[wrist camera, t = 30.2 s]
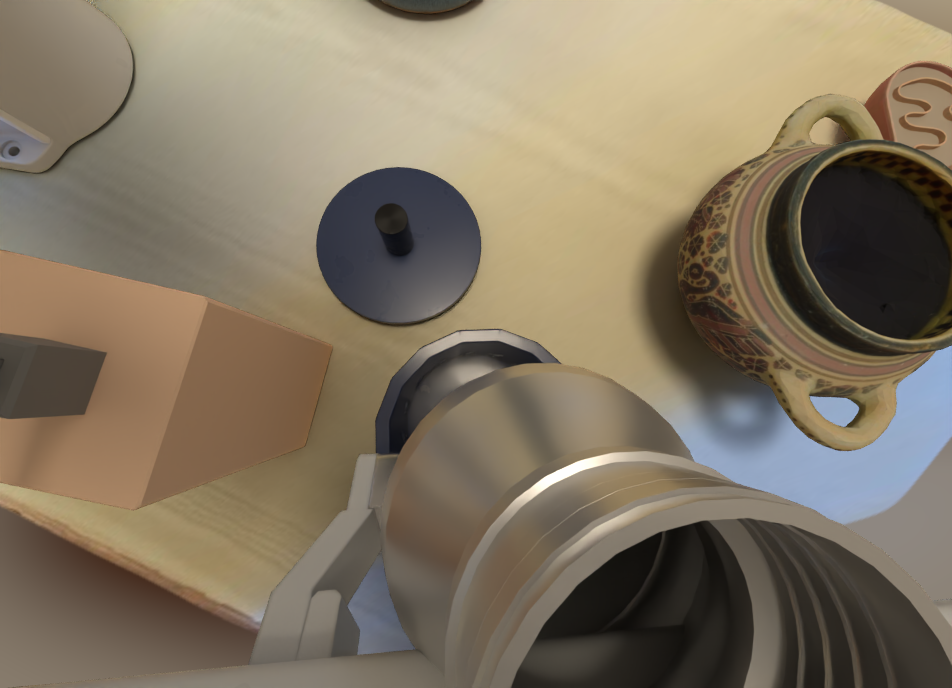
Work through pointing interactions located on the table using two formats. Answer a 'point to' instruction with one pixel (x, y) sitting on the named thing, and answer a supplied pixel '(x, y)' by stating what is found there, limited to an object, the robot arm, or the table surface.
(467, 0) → the vase
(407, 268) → the lid
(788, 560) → the metal water bottle
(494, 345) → the pot
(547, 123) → the table surface
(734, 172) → the patterned ceramic jar
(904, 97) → the mitochondrion model
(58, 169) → the table surface
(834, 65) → the table surface
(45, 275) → the soap dispenser
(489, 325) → the table surface
